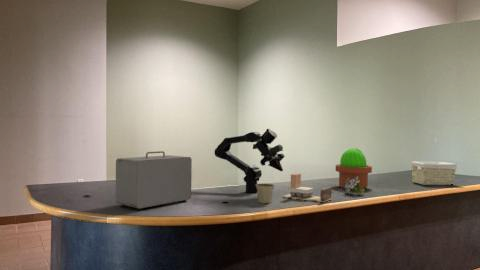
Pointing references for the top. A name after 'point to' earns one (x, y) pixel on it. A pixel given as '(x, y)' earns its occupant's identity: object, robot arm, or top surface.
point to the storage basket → (433, 173)
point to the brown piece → (299, 187)
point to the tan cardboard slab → (323, 197)
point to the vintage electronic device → (152, 180)
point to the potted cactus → (353, 168)
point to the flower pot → (265, 192)
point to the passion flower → (354, 186)
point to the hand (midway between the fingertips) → (282, 170)
